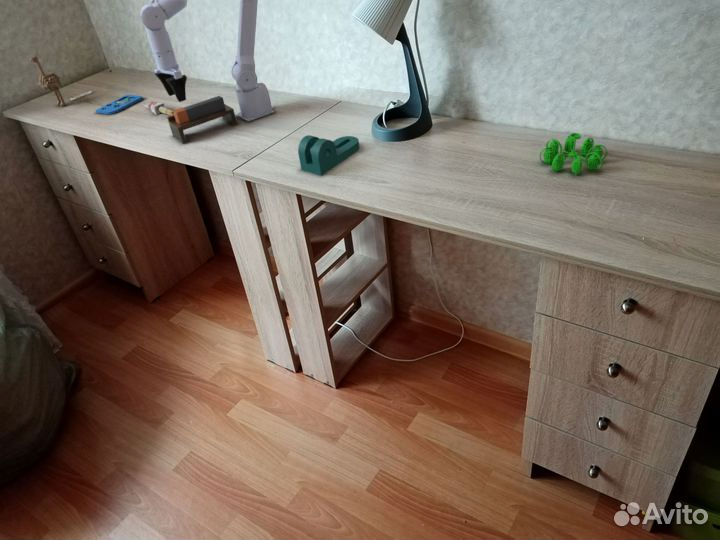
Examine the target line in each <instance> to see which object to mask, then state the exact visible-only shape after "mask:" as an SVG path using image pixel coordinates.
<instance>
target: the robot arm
mask: <svg viewBox="0 0 720 540" xmlns="http://www.w3.org/2000/svg"><path fill="white" fill-rule="evenodd" d="M149 2H150V3H146V4H145V5H143V6H142V8H141V10H140V19H141V21H142V24H143V25H144V27H145V29H144V30H145V32H146V34H147V36H146V37H147V40H148V43H149V46H150V49H151V52H152V55H153V59H154V61H155V65H156V68H155V69H154V70H153V72H154V75H155V77H156V78H157V79H158V80H159V81H160V83H161V84H162V86H163V87H164V90H165V91H166V93H167V94H168V95H167V96H169V97H171V96H175V97H176V100H177V101H178V102H179V103H182V102H185V101H187V94H186V84H187V79H188V76H187V75H186V74H182V71H181V70H180V64H179V63H178V61H177V58H176V55H175V51H174V48H173V45H172V41H171V38H170V34H169V31H167V28H166V24H165V23H166V21H167V20H168V21H169V20H170V19H172V18H173V17H174V16H175V15H177V14H179V12H181V11H182V10H184V9H185V8H187V6H188V0H149ZM258 3H259V0H239V11H238V12H239V13H238V29H237V31H238V32H237V47H236V48H237V49H236V54H235V59H234V63H233V65H232V66H231V76H232V78H233V80H235V82H236V84H235V86H234V90H235V94H236V98H237V102H238V106H239V110H240V112H238V113H236V116H237V117H239V118H240V119H242V120H243V121H246V122H251V121H254V120H257V119H259V118H262V117H265V116H267V115H271V114H273V113H275V111H274V110H273V107H272V106H273V105H272V102H271V97H270V92H269V90H268V87H267V86H266V84H265V83H263V82H258V75H257V73H256V61H255V47H256V46H255V45H256V31H257V30H256V29H257V16H258V5H259V4H258Z"/></svg>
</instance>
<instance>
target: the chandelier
mask: <svg viewBox="0 0 720 540" xmlns="http://www.w3.org/2000/svg"><path fill="white" fill-rule="evenodd" d="M581 138H582V134H580V133H577V132H573V133H570V134H569V135H568V136H567V138H566V139H565V142H564V147H563V146H562V144H561V142H560V141H559V140H558V139H555V138H551V139H549V140H547V142H546V144H545V147H544V148H542V150H541V151H540V152H539V160H540V161H541V162H542V163H543V164H545V165H551V170H552V172H554V173H558V172H559V171H561V170H563V168H564V165H565V162H566V160H568V159H569V158H571V159H573V161H572V162H571V170H570V171H571V172H572V173H574V175H575V176H578V175H579V174H580V173H581V172H582V169H583V160H584V164H585V166H586V168H587V169H588V170H589V171H593V172H595V171H599V170H600V169H601V168H602V167H603V161H604V160H605V159H606V158H607V156H608V152H609V151H608V149H607V148H606V146H605V145H602V144H596V145H595V144H594V143H595V141H594V139H593V137H587V138H586V139H584V141H583V142H582V145H581V146H580V149H579V150H578V151H575V150H576V143H577V140H580V139H581ZM603 148H604V149H605V155H604V156H603V153H604V152H603V150H604V149H603ZM563 149H564V150H563ZM543 152H544V154H543V159H542V157H541V156H542V153H543ZM562 152H563V153H562ZM564 153H565V154H564ZM566 156H567V157H566ZM583 156H585V157H583ZM587 158H588V159H587ZM599 163H600V165H599Z"/></svg>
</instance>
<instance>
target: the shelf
mask: <svg viewBox="0 0 720 540" xmlns="http://www.w3.org/2000/svg"><path fill="white" fill-rule="evenodd" d="M224 104H225V109H223V110H220V111H217V112H214V113H211V114H208V115H205V116H202V117H199V118H197V119H194V120H191V121H188V122H185V123H183V124H179V123H177V122H176V119H175V116H174V115H172V116H170V115H168V116H166V119H167V122H168V125H169V128H170V131H171V134H172V137H173V138H175V139H176V140H177V141H178V142H180V143H181V144H187V143H188V142H187V141H188V140H187V138H186V135H185V130H188V129H192V128H194V127H197V126H200V125H203V124H206V123H209V122H211V121H214V120H217V119H220V118H222V120H224V121H225V122H227V123H228V124H231V125H232V126H236V125H238V121H237V118H236V113H235V109H234V108H233V107H232V106H229V105H227V104H226V103H224Z"/></svg>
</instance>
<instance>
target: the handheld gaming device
mask: <svg viewBox="0 0 720 540" xmlns="http://www.w3.org/2000/svg"><path fill="white" fill-rule="evenodd" d="M143 99H144V98H143V96H142V95H135V94H124V95H123V96H121V97H119V98H117V99H115V100H113V101H111V102H109V103H107V104H104V105H103V106H100V107H99V108H97V109H96V110H95V112H96V113H97V114H103V115H104V114H105V115H113V114H116V113H119V112H121V111H122V110H124V109H126V108H128V107H130V106H132V105H135V104H136V103H138V102H139V101H142V100H143Z"/></svg>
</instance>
